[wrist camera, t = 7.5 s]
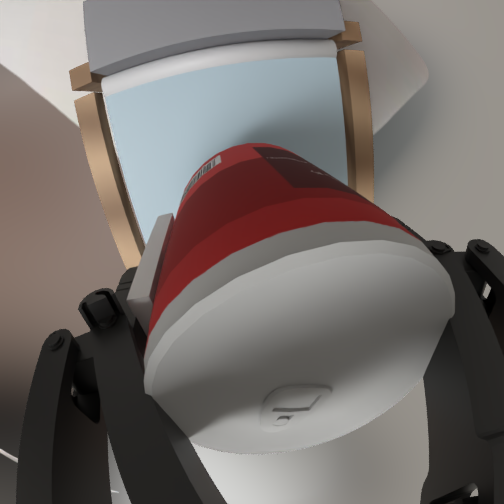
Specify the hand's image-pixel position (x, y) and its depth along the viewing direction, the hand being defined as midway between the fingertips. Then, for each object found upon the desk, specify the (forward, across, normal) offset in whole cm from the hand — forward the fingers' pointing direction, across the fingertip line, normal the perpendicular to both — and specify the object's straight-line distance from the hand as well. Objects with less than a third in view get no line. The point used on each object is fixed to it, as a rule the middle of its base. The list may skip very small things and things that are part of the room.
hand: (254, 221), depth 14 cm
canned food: (+1, 0, 0) cm, 1 cm away
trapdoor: (+8, 0, +5) cm, 10 cm away
